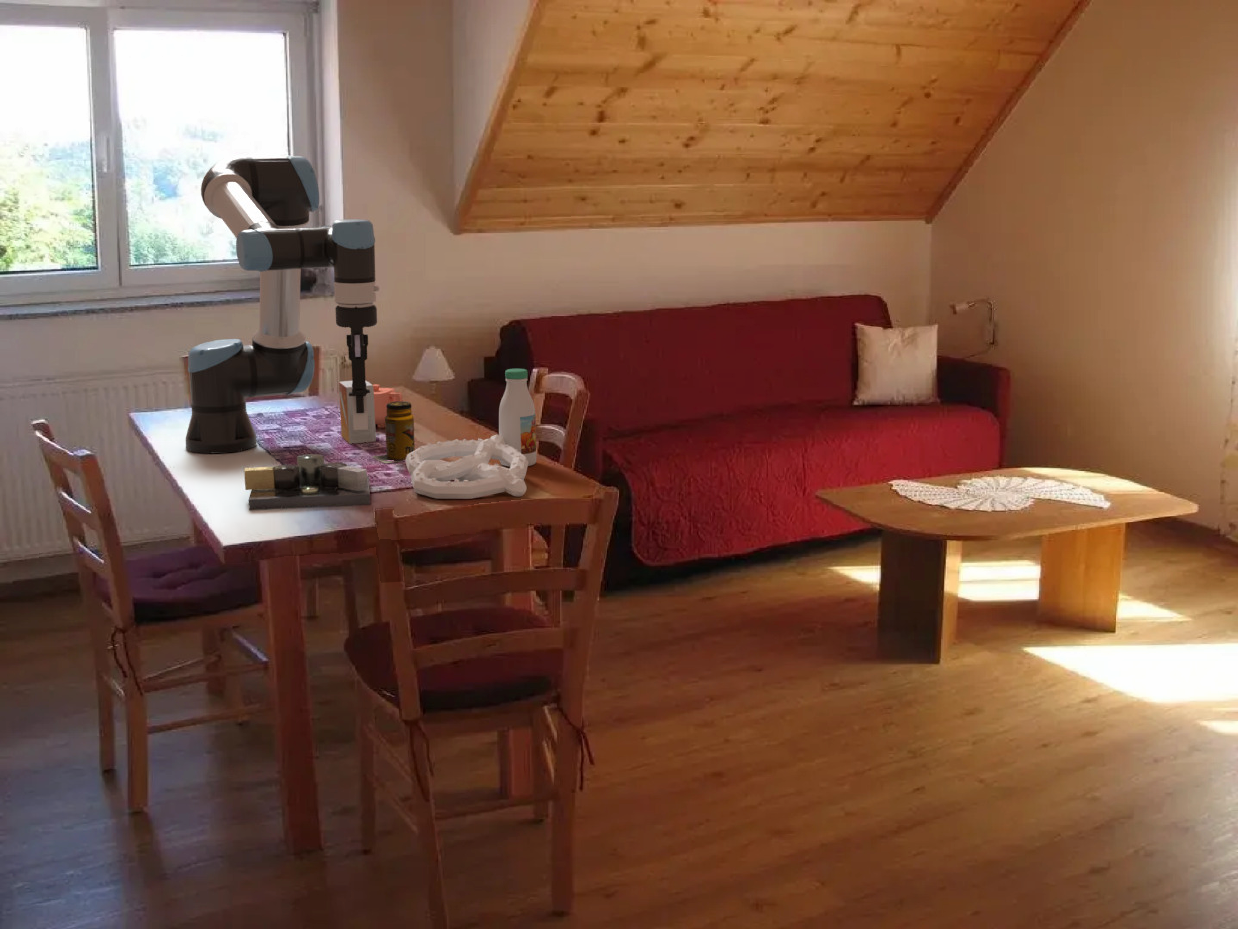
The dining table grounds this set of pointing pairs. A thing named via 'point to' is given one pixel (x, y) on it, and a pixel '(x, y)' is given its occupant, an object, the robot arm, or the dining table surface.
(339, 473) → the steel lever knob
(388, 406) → the condiment
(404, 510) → the dining table surface
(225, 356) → the robot arm
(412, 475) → the pretzel
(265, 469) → the brass lever knob
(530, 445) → the milk bottle
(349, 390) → the small box
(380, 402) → the teapot
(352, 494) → the base plate
